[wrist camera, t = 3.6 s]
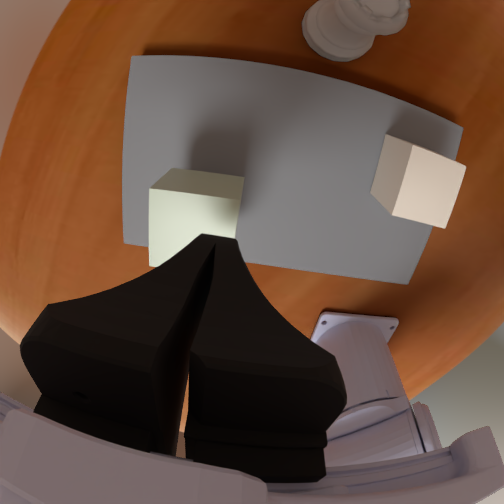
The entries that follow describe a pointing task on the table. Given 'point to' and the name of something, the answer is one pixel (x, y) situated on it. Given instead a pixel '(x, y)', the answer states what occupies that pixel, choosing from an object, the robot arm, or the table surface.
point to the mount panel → (279, 159)
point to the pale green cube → (191, 210)
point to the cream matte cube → (416, 182)
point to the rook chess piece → (351, 25)
